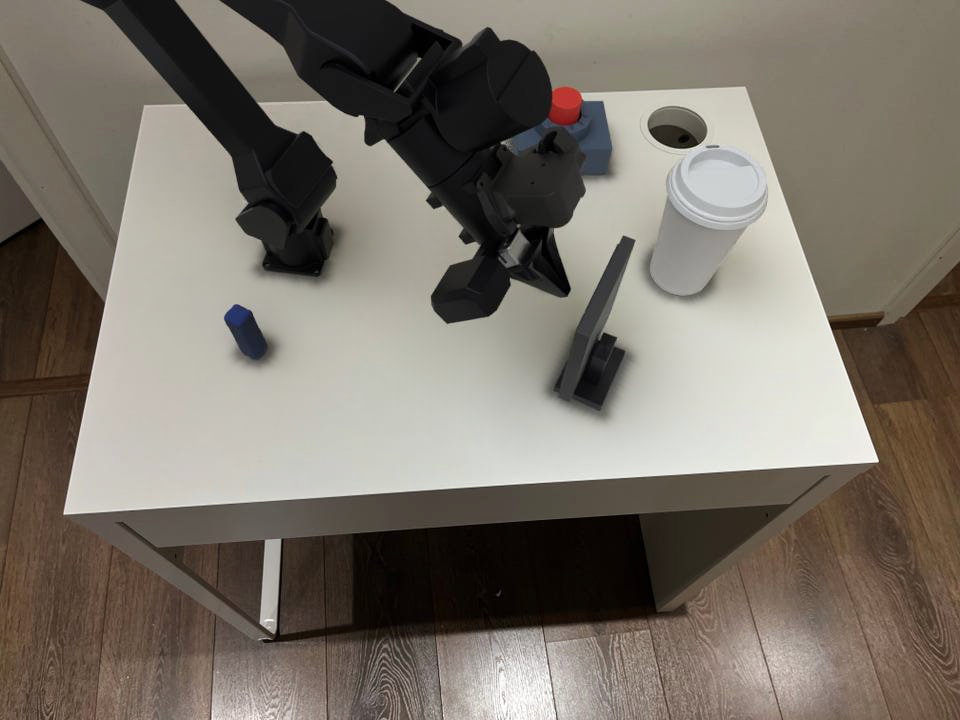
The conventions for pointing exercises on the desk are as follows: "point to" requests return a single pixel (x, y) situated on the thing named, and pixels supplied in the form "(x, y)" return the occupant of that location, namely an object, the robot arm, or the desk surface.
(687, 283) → the coffee cup
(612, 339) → the monitor stand
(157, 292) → the desk surface
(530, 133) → the switch box
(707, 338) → the desk surface
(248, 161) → the robot arm
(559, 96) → the power button
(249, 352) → the eraser
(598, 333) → the screen
